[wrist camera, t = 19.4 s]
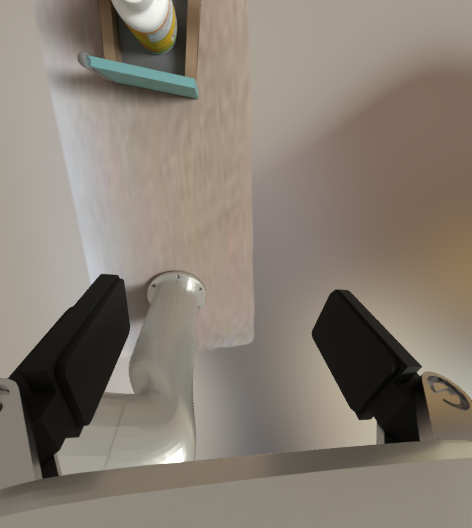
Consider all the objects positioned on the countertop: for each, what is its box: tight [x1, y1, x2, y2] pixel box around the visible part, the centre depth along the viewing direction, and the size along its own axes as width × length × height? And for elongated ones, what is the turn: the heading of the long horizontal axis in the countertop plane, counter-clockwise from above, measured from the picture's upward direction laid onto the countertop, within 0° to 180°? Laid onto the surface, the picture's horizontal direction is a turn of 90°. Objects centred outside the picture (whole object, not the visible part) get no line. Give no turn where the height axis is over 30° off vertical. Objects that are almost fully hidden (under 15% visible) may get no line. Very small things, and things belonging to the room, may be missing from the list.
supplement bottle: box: [111, 0, 177, 54], centre depth 20 cm, size 5×5×10 cm
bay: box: [98, 0, 201, 81], centre depth 23 cm, size 10×10×2 cm
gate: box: [78, 51, 198, 99], centre depth 24 cm, size 1×12×7 cm, turn 81°
